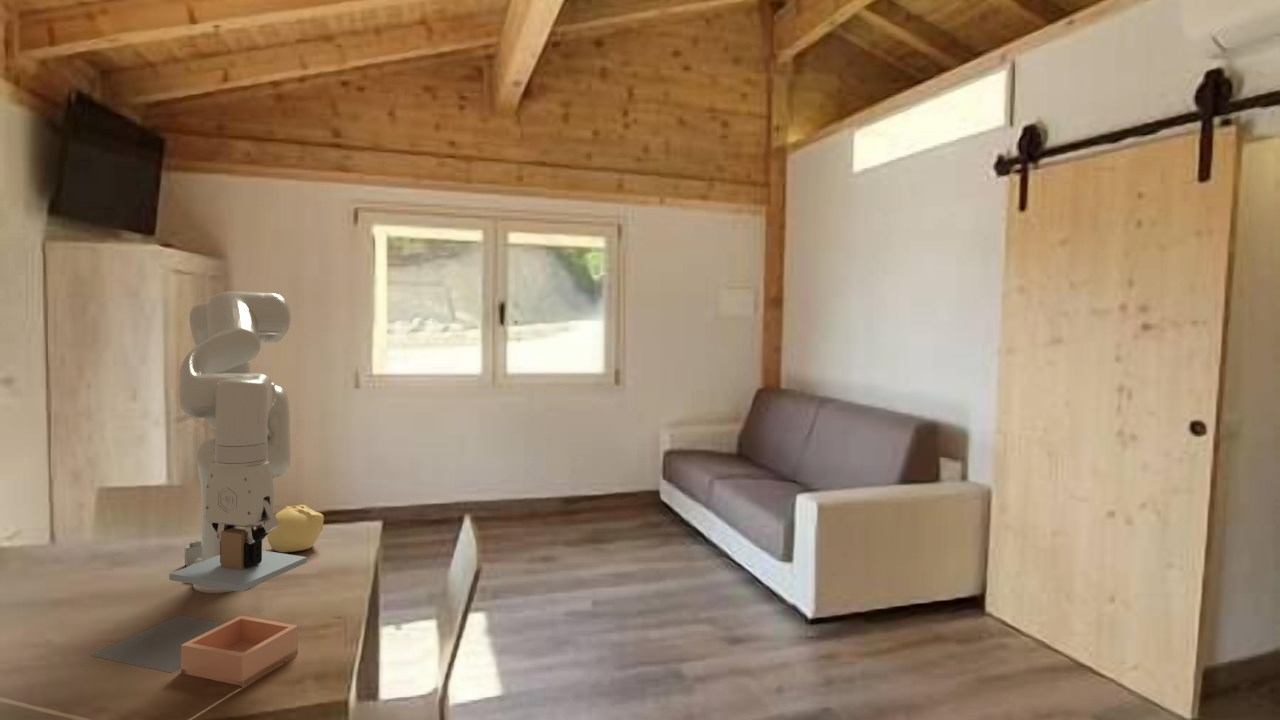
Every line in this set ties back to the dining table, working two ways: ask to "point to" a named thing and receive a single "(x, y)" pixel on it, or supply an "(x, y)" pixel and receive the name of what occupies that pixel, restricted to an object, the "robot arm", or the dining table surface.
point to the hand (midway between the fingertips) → (241, 562)
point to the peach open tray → (240, 650)
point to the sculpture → (296, 529)
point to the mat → (158, 644)
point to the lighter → (193, 552)
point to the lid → (236, 565)
